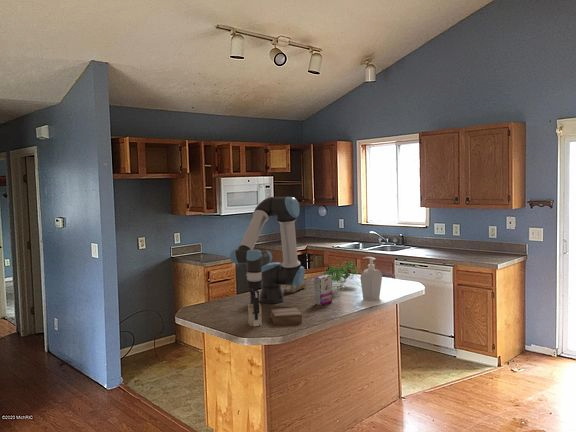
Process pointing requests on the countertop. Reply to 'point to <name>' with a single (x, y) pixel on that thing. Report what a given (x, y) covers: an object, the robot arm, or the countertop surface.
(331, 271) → the plant cuttings
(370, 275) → the soap bottle
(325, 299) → the candy bar box
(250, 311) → the ash block
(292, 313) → the walnut block
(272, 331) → the countertop surface
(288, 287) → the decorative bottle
